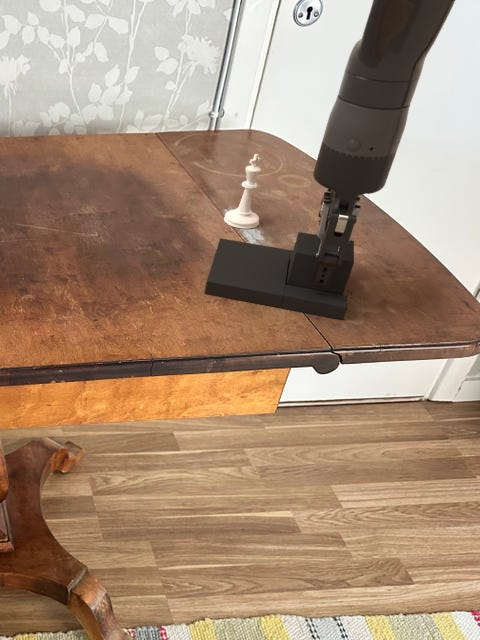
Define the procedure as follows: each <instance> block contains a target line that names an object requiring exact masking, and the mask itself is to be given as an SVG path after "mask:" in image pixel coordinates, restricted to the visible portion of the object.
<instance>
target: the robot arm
mask: <svg viewBox="0 0 480 640" xmlns="http://www.w3.org/2000/svg"><path fill="white" fill-rule="evenodd" d="M455 2H456V0H372V3H371V7H370V10H369V13H368V17H367V20H366V23H365V26H364V30H363V33H362V36H361V38H360V39H358V40H357V42H355V43H354V45H353V48H352V49H351V51H350V54H349V56H348V58H347V63H346V66H345V68H344V72H343V75H342V79H341V83H340V86H339V90H338V93H337V96H336V99H335V102H334V104H333V106H332V108H331V111H330V113H329V116H328V119H327V123H326V126H325V130H324V134H323V137H322V141H321V144H320V148H319V151H318V155H317V157H316V158H317V159H316V162H315V165H314V168H313V172H312V173H313V174H312V175H313V178H314V180H315V182H316V183H317V184H319V185H320V186H322V187H323V188H326V189H327V190H324V191H323V193H322V195H321V201H320V206H319V211H318V215H317V216H318V221H317V223H318V229H317V232H316V235H317V240H318V241H319V242H320V244H319V249H318V253H316V256H315V257H316V262H315V265H314V269H313V272H312V275H311V278H310V282H309V286H310V288H312V289H317V290H323V291H326V290H328V289H329V287H330V284H331V281H332V278H333V275H334V272H335V269H336V266H339V267H340V266H341V264H343V260H344V259H343V257H344V254H345V251H346V248H347V245H348V242H349V241H350V240H352V235H353V230H354V227H355V225H356V223H357V219H358V218H359V216H360V212H361V207H362V205H361V204H360V201H361V197H362V196H363V195H370V194H375V193H377V192H380V191H381V190H382V189H383V188H384V187H385V186H386V183H387V180H388V177H389V174H390V172H391V169H392V167H393V163H394V160H395V157H396V154H397V152H398V149H399V146H400V143H401V140H402V137H403V135H404V131H405V128H406V125H407V121H408V116H409V111H410V107H411V103H412V101H413V98H414V95H415V92H416V89H417V86H418V84H419V81H420V78H421V75H422V72H423V68H424V64H425V61H426V58H427V56H428V54H429V53H430V50H431V49H432V47H433V46H434V44H435V43H436V40H437V38H438V37H439V35H440V33H441V31H442V29H443V27H444V25H445V23H446V21H447V20H448V17H449V15H450V13H451V11H452V9H453V7H454V5H455ZM328 245H333V246H338V248H337V252H336V253H334V252H328V251H326V248H327V246H328Z"/></svg>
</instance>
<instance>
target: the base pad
mask: <svg viewBox="0 0 480 640" xmlns="http://www.w3.org/2000/svg"><path fill="white" fill-rule="evenodd" d="M292 253H293V249H287V248H282V247H275V246H269V245H262V244H258V243H257V244H256V243H251V242H245V241H239V240H233V239H228V238H222V237H220V238H219V241H218V243H217V247H216V251H215V255H214V257H213V260H212V264H211V267H210V270H209V273H208V277H207V279H206V283H205V289H204V294H205V295H210V296H216V297H221V298H226V299H232V300H237V301H243V302H247V303H251V304H258V305H263V306H268V307H273V308H278V309H284V310H289V311H294V312H299V313H304V314H308V315H309V314H310V315H313V316H314V315H315V316H319V317H325V318H330V319H335V320H340V321H344V318H345V315H346V312H347V310H348V295H344V294H343V295H339V294H334V293H328V292H323V291H317V290H312V289H306V288H301V287H296V286H290V285H286V278H287V270H288V267H289V263H290V260H291V256H292Z"/></svg>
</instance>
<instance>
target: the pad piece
mask: <svg viewBox="0 0 480 640" xmlns="http://www.w3.org/2000/svg"><path fill="white" fill-rule="evenodd" d="M319 244H320V242H319V241H318V240H317V234H313V233H307V232H301V231H298V233H297V236H296V239H295V243H294V245H293V248H292V250H293V253H292V256H291V260H290V263H289V267H288V270H287V278H286V285H290V286H296V287H301V288H306V289H312V288H310V286H309V282H310V278H311V275H312V272H313V269H314V265H315V262H316V257H315V256H316V253H318V249H319ZM337 248H338V246H333V245H328V246H327V248H326V251H328V252H334V253H336V252H337ZM343 259H344V260H343V264H341V266H340V267H339V266H336V269H335V272H334V275H333V278H332V281H331V284H330V287H329V289H328V290H326V291H323V290H317V289H312V290H317V291H323V292H328V293H334V294H339V295H344V293H345V289H346V287H347V284H348V281H349V278H350V276H351V272H352V270H353V267H354V264H355V241H354V240H352V239H350V241H349V242H348V245H347V248H346V251H345V254H344V257H343Z"/></svg>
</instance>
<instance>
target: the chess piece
mask: <svg viewBox="0 0 480 640" xmlns="http://www.w3.org/2000/svg"><path fill="white" fill-rule="evenodd" d="M260 162H261V157H259V154H258V153H255V154H254V155H253V158H252V159H249V165H247V166H246V167H245V176H246V180H243V181H242V183H241V186H242V187H243V188H244V191H243V193H242V197H241V198H240V202H239V205H238V207H236V208H235V209H231V210H227V212H226V213H225V214H224V217H223V221H224V223H225V224H227V225H228V226H230V227H233V228H236V229H241V230H248V229H254V228H256V227H258V226H259V224H260V217H259V215H258V214H257V213H255V212H253V210H252V209H251V203H252V193H253V189H257V188H258V183H257V182H255V181H256V179H257V178H258V176H259V174H260V173H261V171H262V168H260V167H259V166H257V164H258V163H260ZM250 164H251V165H250Z"/></svg>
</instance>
